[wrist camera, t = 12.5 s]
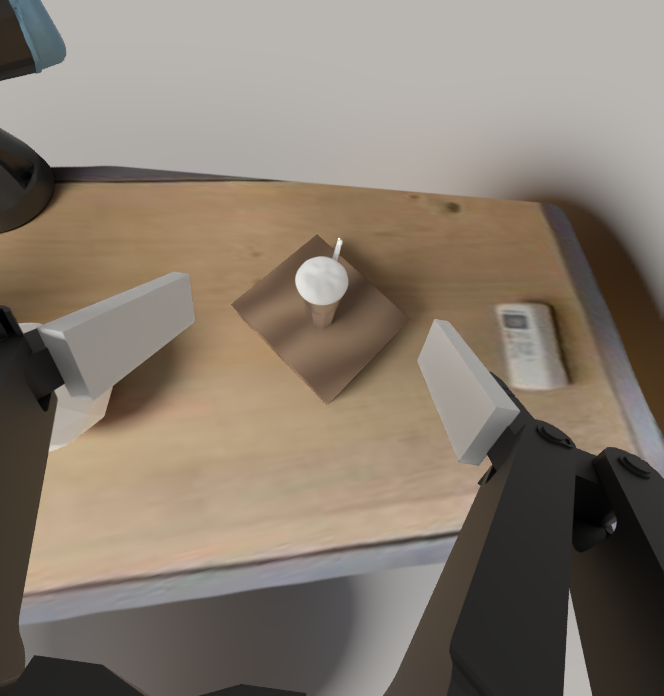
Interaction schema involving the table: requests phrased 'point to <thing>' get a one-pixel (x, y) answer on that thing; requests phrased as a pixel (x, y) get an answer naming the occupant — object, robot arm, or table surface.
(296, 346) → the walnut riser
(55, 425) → the geodesic sphere
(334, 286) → the milkshake
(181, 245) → the table surface
